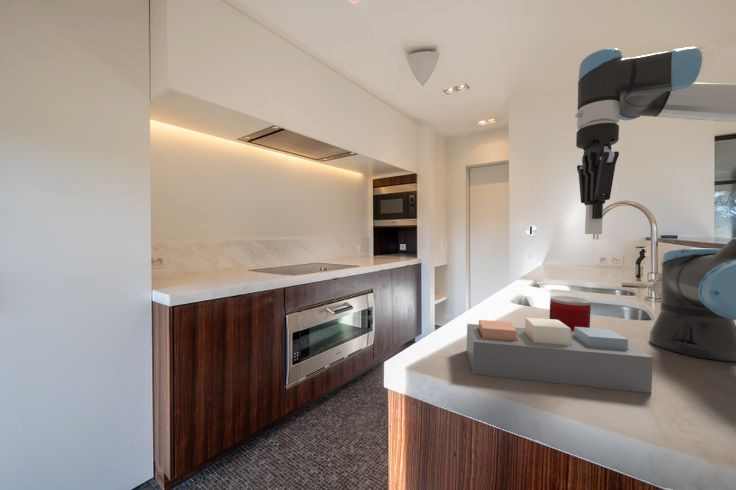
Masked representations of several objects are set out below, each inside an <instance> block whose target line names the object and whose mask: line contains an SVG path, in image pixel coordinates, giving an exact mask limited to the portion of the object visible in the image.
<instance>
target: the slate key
mask: <svg viewBox="0 0 736 490" xmlns="http://www.w3.org/2000/svg"><path fill="white" fill-rule="evenodd" d="M574 337H575V338H576V339H578V340H579V341H580V342H582V343H583V344H585V345H586V346H587V347H596V348H608V349H620V350H628V344H629V339H628V338H627V337H625V336H623V335H621V334H619V333H618V332H615V331H613V330H611V329H609V328H599V327H597V328H596V327H590V328H585V327H574Z"/></svg>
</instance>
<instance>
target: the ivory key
mask: <svg viewBox="0 0 736 490" xmlns="http://www.w3.org/2000/svg"><path fill="white" fill-rule="evenodd" d="M524 319H525V320H524V328H525V334H526V335H527V337H528V338H529V339H530V340H531V341H532V342H536V343H548V344H560V345H570V333H571V328H569V327H568V326H566V325H565V324H563V323H562V322H561V321H559V320H555V319H550V318H541V317H540V318H537V317H524Z"/></svg>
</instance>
